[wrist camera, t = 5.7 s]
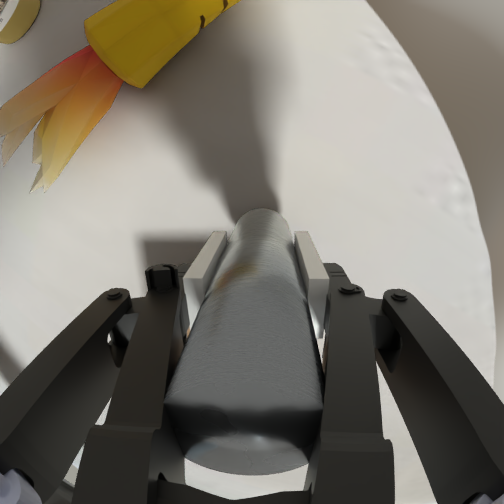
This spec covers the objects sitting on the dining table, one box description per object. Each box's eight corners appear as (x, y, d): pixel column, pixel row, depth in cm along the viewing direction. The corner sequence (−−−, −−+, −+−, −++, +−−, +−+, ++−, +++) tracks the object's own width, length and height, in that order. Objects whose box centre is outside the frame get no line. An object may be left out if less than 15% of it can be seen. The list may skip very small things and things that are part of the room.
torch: (266, 12, 19) (53, 173, 22) (222, -49, 14) (5, 123, 17) (309, 0, 13) (26, 217, 16) (251, -82, 8) (-38, 154, 11)
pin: (235, 262, 21) (176, 467, 6) (232, 208, 20) (136, 372, 5) (289, 262, 21) (319, 473, 6) (290, 208, 20) (351, 379, 5)
